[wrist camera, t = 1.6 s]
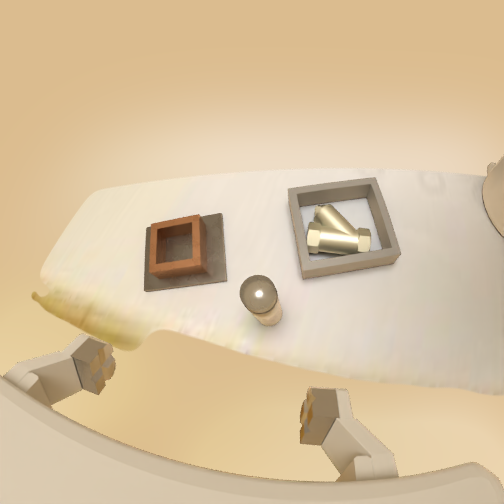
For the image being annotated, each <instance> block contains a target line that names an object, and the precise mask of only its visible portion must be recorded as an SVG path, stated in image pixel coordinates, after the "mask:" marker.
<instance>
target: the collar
mask: <svg viewBox="0 0 504 504" xmlns="http://www.w3.org/2000/svg"><path fill="white" fill-rule="evenodd" d="M224 281H227V274H226V261H225V248H224V233H223V218H222V213H218V214H213V215H208V216H202V217H201V216H200V215H199V214H198V215H193V216H188V217H183V218H178V219H173V220H168V221H163V222H158V223H154V224H151V227H147V229H146V246H145V273H144V291H146V292H148V291H156V290H164V289H172V288H179V287H187V286H195V285H202V284H209V283H217V282H224Z"/></svg>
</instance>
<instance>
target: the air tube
mask: <svg viewBox="0 0 504 504" xmlns="http://www.w3.org/2000/svg"><path fill="white" fill-rule="evenodd" d="M240 298H241V301H242V302H243V304H244V305H245V307H246V308H247V309H248V310H249V311H250V312H251V313H252V314H253V315H254V316H255V317H256V318H257V319H258V321H259V322H260V323H261V324H263V325H265V326H273V325H275V324H277V323H278V322H279V321H280V320H281V318H282V309H281V305H280V302H279V299H278V294H277V291H276V288H275V286H274V284H273V282H272V281H271V280H270V279H269V278H267V277H265V276H262V275H254V276H251V277H249V278H247V279H246V280H245V281H244V282H243V284H242V285H241V288H240Z"/></svg>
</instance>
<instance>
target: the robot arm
mask: <svg viewBox="0 0 504 504" xmlns="http://www.w3.org/2000/svg"><path fill="white" fill-rule="evenodd" d="M487 173H488V175H487V178H486V180H485V181H484V184H483V189H482V194H483V201H484V205H485V208H486V210H487V213H488V215H489V217H490V219H491V221H492V223H493V224H494V226H495V227H496V229H497V230H498V231H499V232H500V233H501V235H502V236H503V237H504V156H503V157H502V158H501V159H500V160H499V162H498V163H497V164H496V163H490V164H489V165H488V167H487ZM112 352H113V348H112V345H111V344H110V343H107V342H104V341H102V340H99V339H97V338H94V337H91V336H88V335H86V334H80V335H79V336H78V337H76V338H75V339H74V340H73V341H72V342H71V343H70V344H69V345H68V346H67V347H66V348H65V349H64V350H63V351H62V352H59V351H58V352H54V353H51V354H47V355H43V356H40V357H36V358H33V359H29V360H26V361H22V362H18V363H17V364H15V365H14V366H13V367H12V368H11V369H10V370H9V371H8V372H7V373H6V374H5V375H4V376H3V377H2V376H1V375H0V504H504V489H503V486H502V484H501V482H500V480H499V478H498V477H497V476H496V475H494V474H493V473H492V472H490V471H489V470H487V469H486V468H485V467H483V466H482V465H480V464H478V463H476V462H470V463H465V464H462V465H458V466H454V467H450V468H446V469H441V470H437V471H432V472H427V473H422V474H416V475H411V476H404V477H399V476H398V472H397V468H396V463H395V459H394V455H393V453H392V452H391V451H390V450H389V449H388V448H387V447H386V446H385V445H384V444H383V443H382V442H381V441H379V440H378V439H377V438H376V437H375V436H374V435H373V434H372V433H371V432H370V431H369V430H368V429H367V428H366V427H365V426H364V425H363V424H362V423H361V422H360V421H359V420H357V419H353V413H352V408H351V403H350V398H349V393H348V390H347V389H336V388H335V389H334V388H321V387H309V389H308V391H307V399H306V400H304V402H303V405H302V408H301V414H300V423H301V424H302V427H301V430H300V443H301V444H311V445H321V447H322V449H323V450H324V451H325V453H326V454H327V456H328V457H329V459H330V460H331V461H332V463H333V464H334V466H335V467H336V468H337V470H338V471H339V473H340V474H341V476H340V477H339V478H338V479H337V480H336V481H335V482H311V481H291V480H278V479H269V478H260V477H253V476H246V475H239V474H233V473H227V472H222V471H217V470H212V469H207V468H203V467H199V466H195V465H191V464H186V463H183V462H179V461H176V460H172V459H169V458H165V457H162V456H159V455H156V454H153V453H150V452H147V451H144V450H141V449H138V448H135V447H132V446H130V445H127V444H124V443H122V442H120V441H117V440H115V439H112V438H110V437H108V436H105V435H103V434H100V433H98V432H96V431H94V430H92V429H90V428H87V427H86V426H83V425H81V424H79V423H77V422H75V421H73V420H71V419H69V418H68V417H66V416H64V415H62V414H60V413H58V412H57V411H55V410H53V409H52V406H51V405H52V404H54V403H56V402H58V401H61V400H63V399H65V398H67V397H69V396H71V395H73V394H75V393H77V392H79V391H81V390H82V389H84V390H87V391H89V392H92V393H94V394H97V395H99V394H100V392H101V391H102V389H103V388H104V387H105V381H106V380H109V379H111V377H112V376H113V374H114V371H115V359H114V358H113V356H112V355H111V354H112Z"/></svg>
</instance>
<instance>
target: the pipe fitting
mask: <svg viewBox="0 0 504 504" xmlns="http://www.w3.org/2000/svg"><path fill="white" fill-rule="evenodd" d="M314 222H315V223H314ZM314 222H310V223H309V225H308V233H307V248H308V253H318V251H321V252H329V253H337V254H346V255H352V254H358V253H364V252H369V251H370V245H371V233H370V230H369V229H365V228H358V230H356V229H355V228H354V227H353V226H352V225H351V224H350V223H349V222H348V221H347V220H346V219H345V218H344V217H343V216H342V215H341V214H340V213H339V212H338V211H337V210H336V209H335V208H334V207H333V206H332V205H331V204H328V205H321V206H320V205H317V206H316V207H315V217H314Z"/></svg>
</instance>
